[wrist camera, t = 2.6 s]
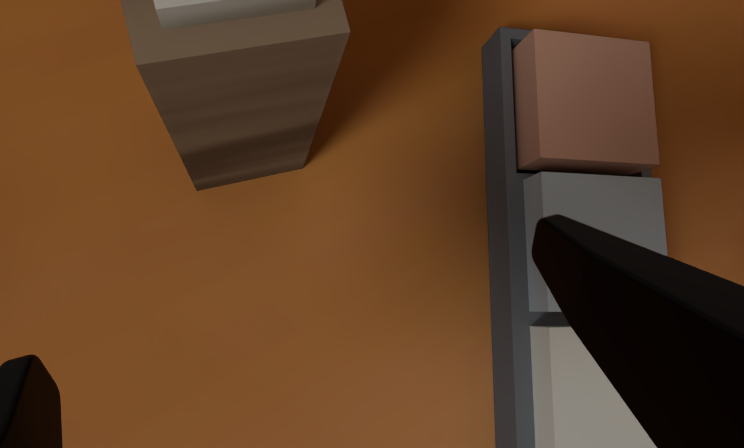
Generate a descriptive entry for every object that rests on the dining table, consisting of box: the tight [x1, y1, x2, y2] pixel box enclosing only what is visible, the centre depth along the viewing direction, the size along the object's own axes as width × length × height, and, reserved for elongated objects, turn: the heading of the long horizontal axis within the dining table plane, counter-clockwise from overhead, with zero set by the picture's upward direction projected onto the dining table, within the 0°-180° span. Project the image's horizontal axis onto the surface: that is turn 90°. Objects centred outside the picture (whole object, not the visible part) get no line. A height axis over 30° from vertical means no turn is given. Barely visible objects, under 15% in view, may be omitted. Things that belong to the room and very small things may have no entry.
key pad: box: [482, 27, 668, 448], centre depth 24 cm, size 20×7×4 cm, turn 0°
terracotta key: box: [512, 29, 660, 176], centre depth 24 cm, size 6×6×2 cm
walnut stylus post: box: [121, 0, 351, 191], centre depth 17 cm, size 4×4×13 cm
